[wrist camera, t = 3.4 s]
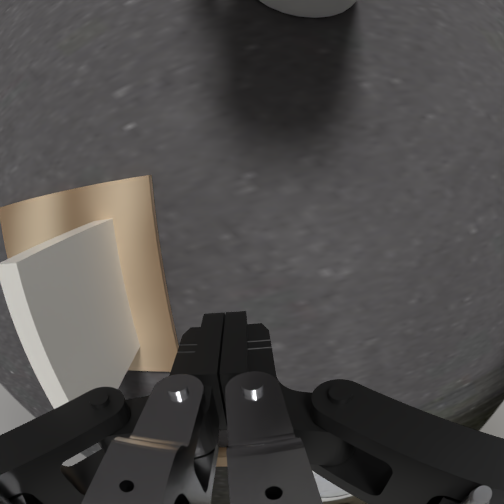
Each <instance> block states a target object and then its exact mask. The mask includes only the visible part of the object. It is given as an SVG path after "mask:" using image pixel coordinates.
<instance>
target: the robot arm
mask: <svg viewBox="0 0 504 504" xmlns="http://www.w3.org/2000/svg"><path fill="white" fill-rule="evenodd" d="M219 430H228V446H227V449H226V455H227V470H228V483H229V496H230V504H323V503H322V500H321V497H320V494H319V491H318V488H317V484H316V481H315V478H314V475H313V472H312V470H313V471H314V472H315V473H317V474H319V475H320V476H322V477H323V478H325V479H327V480H328V481H330V482H331V483H333V484H335V485H336V486H338V487H340V488H341V489H343V490H345V491H347V492H348V493H350V494H352V495H354V496H355V497H357V498H359V499H361V500H363V501H365V502H366V503H368V504H504V439H503V438H499V437H496V436H493V435H489V434H486V433H483V432H480V431H477V430H474V429H471V428H468V427H465V426H462V425H459V424H457V423H454V422H451V421H448V420H445V419H443V418H440V417H437V416H435V415H432V414H429V413H427V412H424V411H422V410H419V409H417V408H414V407H412V406H409V405H407V404H404V403H402V402H399V401H397V400H394V399H392V398H390V397H387V396H385V395H383V394H380V393H378V392H376V391H373V390H371V389H369V388H367V387H364V386H362V385H360V384H358V383H356V382H353V381H349V380H343V379H337V380H330V381H327V382H324V383H322V384H320V385H319V386H318V387H317V388H316V389H315V390H314V391H313V393H308V392H299V391H294V390H291V389H289V388H287V387H285V386H283V385H282V384H281V383H280V382H279V381H278V379H277V377H276V371H275V365H274V359H273V353H272V348H271V341H270V335H269V330H268V329H267V328H266V327H265V326H264V325H263V324H262V323H260V324H247V316H246V311H241V312H226V315H225V313H210V314H204V316H203V320H202V324H201V327H195V328H190V329H189V330H188V331H187V332H186V333H185V334H183V336H182V339H181V342H180V346H179V348H178V351H177V354H176V357H175V360H174V363H173V366H172V369H171V372H170V375H169V376H168V377H165V378H163V379H162V380H160V381H159V382H158V383H157V384H156V385H155V386H154V388H153V390H152V392H151V394H150V395H149V396H146V397H141V398H135V399H129V400H125V398H124V396H123V394H122V393H121V391H119V390H118V389H116V388H113V387H99V388H95V389H92V390H90V391H88V392H86V393H84V394H83V395H81V396H79V397H77V398H75V399H73V400H71V401H69V402H67V403H65V404H63V405H61V406H59V407H57V408H55V409H53V410H52V411H50V412H48V413H46V414H44V415H42V416H40V417H38V418H35V419H33V420H32V421H30V422H27V423H25V424H23V425H21V426H19V427H17V428H15V429H13V430H11V431H8V432H7V433H4V434H2V435H0V504H211V494H212V488H213V482H214V476H215V470H216V464H217V458H218V452H219V447H218V436H219ZM96 443H98V444H99V445H100V447H101V448H102V449H101V450H99V451H97V452H96V453H94V454H92V455H91V456H89V457H87V458H85V459H84V460H82V461H80V462H78V463H77V464H75V465H73V466H69V467H67V466H63V465H62V463H63V462H64V461H66V460H67V459H69V458H71V457H73V456H75V455H76V454H78V453H80V452H82V451H84V450H85V449H87V448H89V447H91V446H92V445H94V444H96Z"/></svg>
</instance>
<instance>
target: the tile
mask: <svg viewBox="0 0 504 504" xmlns="http://www.w3.org/2000/svg"><path fill="white" fill-rule="evenodd" d="M0 282H1V286H2V289H3V292H4V296H5V299H6V302H7V305H8V308H9V311H10V314H11V317H12V320H13V322H14V325H15V328H16V330H17V333H18V336H19V338H20V341H21V343H22V345H23V348H24V350H25V352H26V355H27V357H28V359H29V361H30V363H31V366H32V368H33V370H34V372H35V374H36V376H37V378H38V380H39V382H40V384H41V386H42V388H43V390H44V391H45V393H46V395H47V397H48V399H49V401H50V402H51V404H52V406H53V408H54V409H55V408H57V407H59V406H61V405H63V404H65V403H67V402H69V401H71V400H73V399H75V398H77V397H79V396H81V395H83V394H84V393H86V392H88V391H90V390H92V389H95V388H99V387H113V388H116V389H118V388H119V386H120V384H121V382H122V380H123V378H124V376H125V374H126V373H127V371H128V369H129V367H130V365H131V363H132V361H133V359H134V357H135V355H136V353H137V352H138V350H139V348H140V344H139V340H138V337H137V333H136V329H135V326H134V322H133V318H132V314H131V310H130V306H129V302H128V298H127V293H126V289H125V284H124V280H123V275H122V270H121V265H120V260H119V255H118V249H117V243H116V237H115V231H114V225H113V218H112V219H105V220H98V221H93V222H91V223H88V224H86V225H83V226H81V227H78V228H76V229H73V230H71V231H69V232H66V233H64V234H61V235H59V236H57V237H54V238H52V239H50V240H48V241H45V242H43V243H41V244H39V245H36V246H34V247H32V248H30V249H28V250H26V251H23V252H21V253H19V254H17V255H15V256H13V257H11V258H9V259H7V260H5V261H3V262H1V263H0Z"/></svg>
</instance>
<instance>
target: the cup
mask: <svg viewBox="0 0 504 504" xmlns="http://www.w3.org/2000/svg"><path fill="white" fill-rule="evenodd" d="M259 1H260V2H262V3H264V4H265V5H266V6H268V7H271V8H273V9H275V10H278V11H280V12H282V13H286V14H290V15H294V16H299V17H311V18H319V17H330V16H333V15H336V14H339V13H343V12H344V11H345V10H347V9H348V8H350V7H351V6H352V5H353V4H354V3H355V2H356V1H357V0H259Z"/></svg>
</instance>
